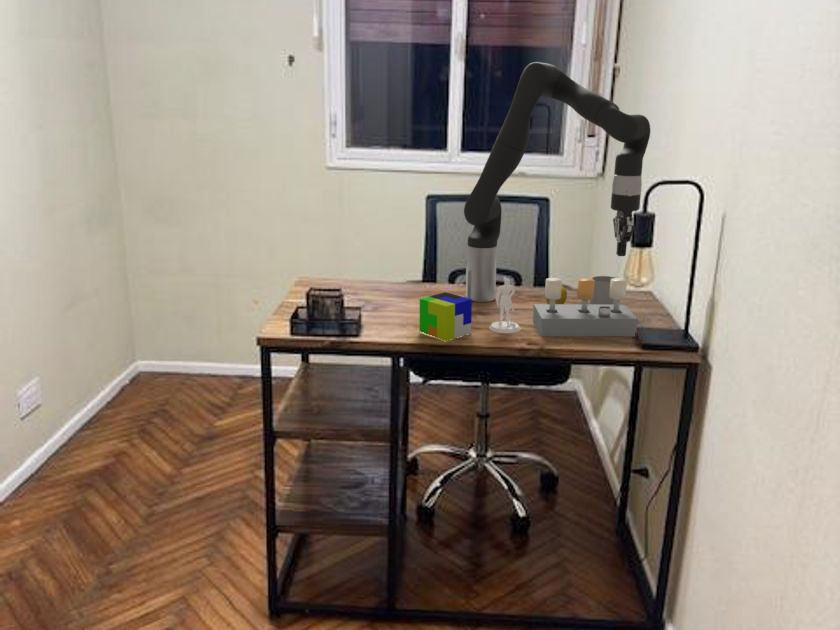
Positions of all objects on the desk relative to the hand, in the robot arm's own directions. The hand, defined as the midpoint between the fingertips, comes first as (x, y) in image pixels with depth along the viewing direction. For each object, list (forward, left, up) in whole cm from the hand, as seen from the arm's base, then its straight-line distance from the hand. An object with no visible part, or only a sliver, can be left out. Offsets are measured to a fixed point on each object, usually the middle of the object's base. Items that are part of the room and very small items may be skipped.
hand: (620, 255), depth 207 cm
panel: (-9, 0, -21) cm, 23 cm away
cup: (+1, +17, -21) cm, 27 cm away
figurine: (-31, 0, -21) cm, 38 cm away
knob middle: (-9, 0, -16) cm, 18 cm away
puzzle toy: (-48, -5, -21) cm, 53 cm away
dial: (-5, -4, -16) cm, 17 cm away
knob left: (-18, 0, -16) cm, 24 cm away
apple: (-13, +20, -21) cm, 32 cm away
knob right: (0, 0, -16) cm, 16 cm away
